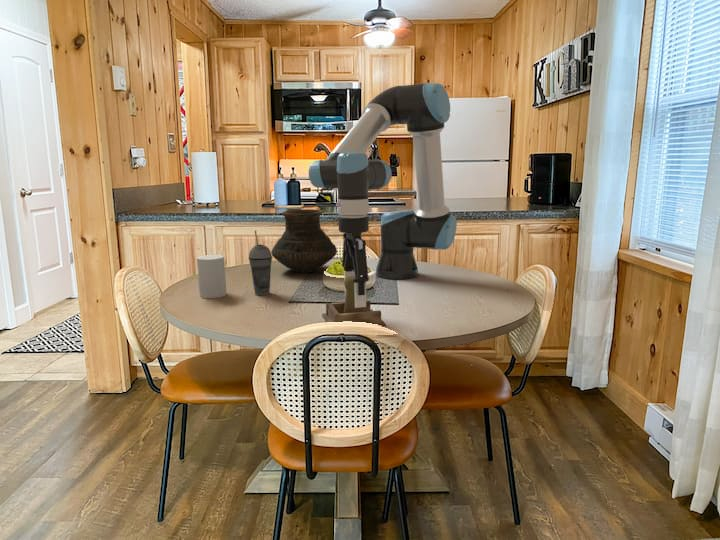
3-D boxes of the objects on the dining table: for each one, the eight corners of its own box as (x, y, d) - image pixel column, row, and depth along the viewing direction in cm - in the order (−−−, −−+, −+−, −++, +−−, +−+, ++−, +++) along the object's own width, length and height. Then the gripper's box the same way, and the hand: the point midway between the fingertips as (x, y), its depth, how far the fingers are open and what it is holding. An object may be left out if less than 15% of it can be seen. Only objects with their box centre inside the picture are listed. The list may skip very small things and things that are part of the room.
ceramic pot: (284, 263, 208) (282, 208, 203) (342, 264, 204) (341, 208, 199) (263, 276, 184) (260, 214, 180) (328, 278, 180) (327, 215, 176)
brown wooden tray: (372, 311, 141) (371, 298, 140) (385, 325, 129) (385, 312, 128) (321, 315, 138) (321, 302, 137) (331, 331, 125) (330, 316, 125)
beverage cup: (268, 296, 157) (265, 232, 153) (246, 295, 159) (242, 231, 154) (277, 291, 164) (274, 229, 160) (255, 290, 166) (252, 228, 161)
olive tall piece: (342, 314, 136) (341, 274, 134) (365, 313, 136) (364, 273, 134) (343, 321, 130) (343, 279, 128) (367, 320, 131) (367, 278, 128)
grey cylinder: (231, 292, 163) (229, 255, 160) (214, 299, 155) (211, 260, 153) (211, 290, 166) (209, 254, 163) (193, 296, 159) (190, 258, 156)
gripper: (329, 211, 138) (332, 290, 143) (349, 222, 116) (351, 315, 121) (356, 210, 139) (358, 288, 144) (381, 220, 117) (381, 312, 122)
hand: (355, 300), depth 132 cm, fingers open, 11 cm apart
